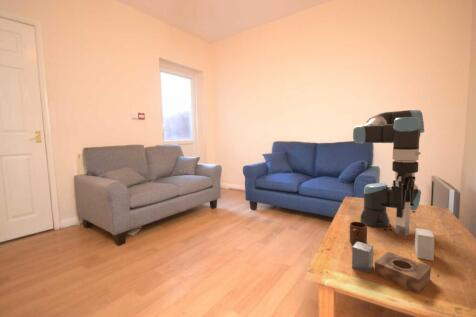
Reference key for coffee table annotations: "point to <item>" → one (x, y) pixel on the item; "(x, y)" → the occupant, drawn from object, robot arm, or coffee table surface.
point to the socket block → (403, 271)
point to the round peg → (401, 229)
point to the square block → (362, 257)
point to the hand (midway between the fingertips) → (402, 223)
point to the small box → (424, 244)
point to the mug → (358, 232)
